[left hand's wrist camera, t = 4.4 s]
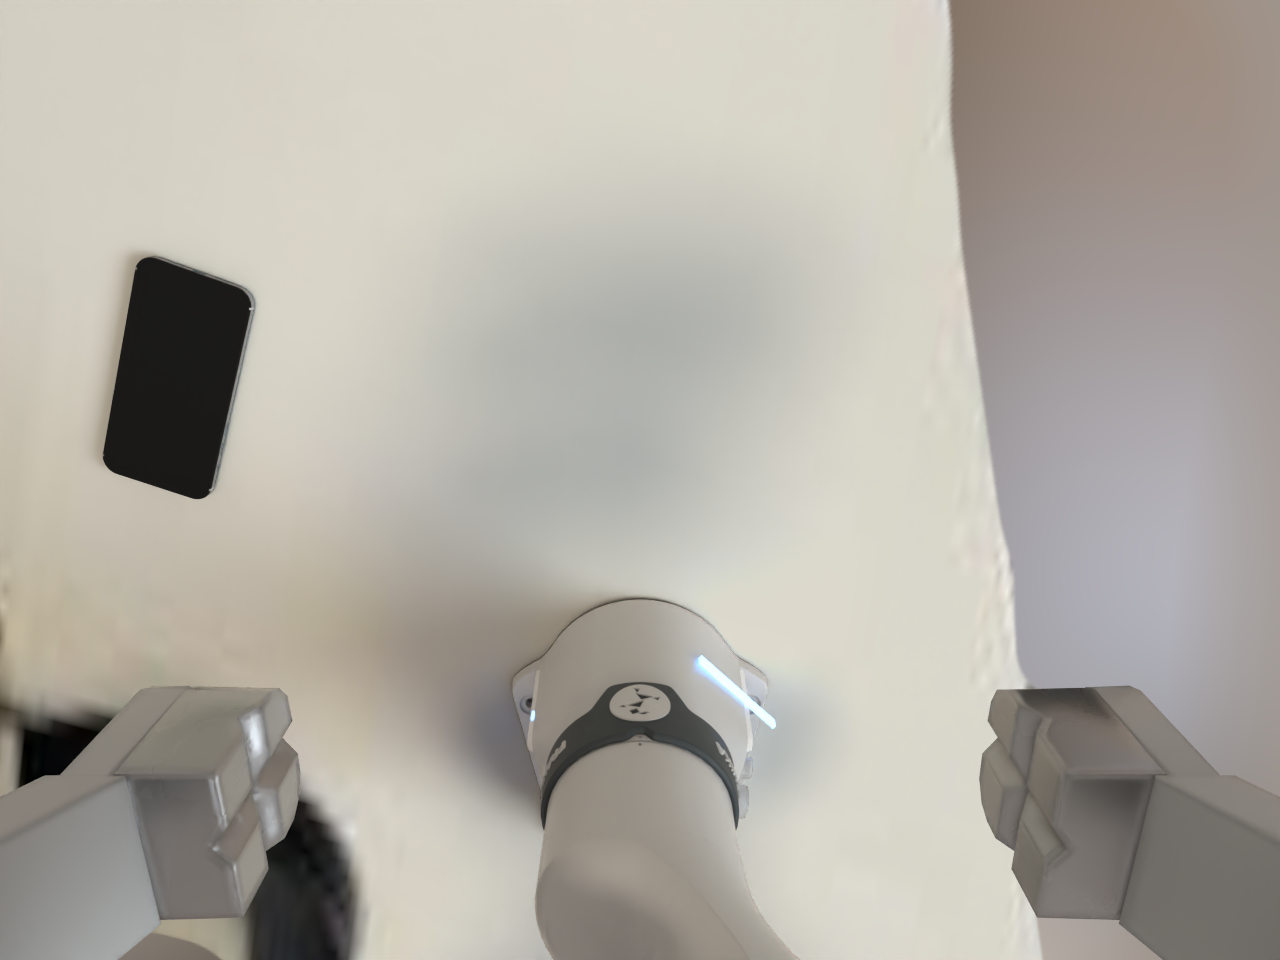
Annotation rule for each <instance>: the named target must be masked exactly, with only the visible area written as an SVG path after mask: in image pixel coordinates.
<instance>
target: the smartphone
mask: <svg viewBox="0 0 1280 960" xmlns="http://www.w3.org/2000/svg"><path fill="white" fill-rule="evenodd" d="M253 311H254V300H253V297H252V296H251V294H250V293H249V292H248V291H247V290H246V289H245V288H243V287H241V286H238V285H236V284H233V283H230V282H227V281H224V280H221V279H219V278H216V277H213V276H210V275H207V274H205V273H202V272H199V271H196V270H193V269H191V268H188V267H185V266H182V265H179V264H177V263H174V262H171V261H168V260H165V259H163V258H160V257H147V258H144V259H142V260H141V261H139V263H138V264H137V266H136V269H135V274H134V280H133V286H132V292H131V297H130V303H129V309H128V314H127V320H126V326H125V332H124V337H123V343H122V349H121V354H120V360H119V366H118V372H117V377H116V383H115V389H114V394H113V400H112V406H111V412H110V417H109V423H108V429H107V434H106V440H105V446H104V451H103V460H104V463H105V465H106V466H107V467H108V469H110V470H111V471H112V472H114V473H116V474H119V475H122V476H125V477H128V478H131V479H134V480H137V481H141V482H144V483H147V484H150V485H153V486H156V487H159V488H162V489H165V490H168V491H171V492H174V493H177V494H180V495H184V496H187V497H190V498H193V499H202V498H204V497H206V496H208V495H209V494H210V493H211V492H212V491H213V489H214V486H215V481H216V477H217V472H218V468H219V463H220V459H221V454H222V450H223V445H224V441H225V436H226V432H227V427H228V423H229V419H230V414H231V410H232V405H233V401H234V396H235V392H236V387H237V383H238V378H239V374H240V369H241V365H242V360H243V356H244V351H245V347H246V342H247V338H248V333H249V329H250V324H251V320H252V315H253Z"/></svg>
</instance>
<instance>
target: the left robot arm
mask: <svg viewBox="0 0 1280 960" xmlns="http://www.w3.org/2000/svg"><path fill="white" fill-rule="evenodd" d="M512 694H513V698H514V701H515V705H516V708H517V711H518V715H519V718H520V722H521V725H522V729H523V732H524V736H525V739H526V743H527V746H528V750H529V753H530V756H531V760H532V763H533V767H534V770H535V774H536V777H537V780H538V784H539V787H540V791H541V795H540V799H542V800H541V819H542V825H543V829H544V837H543V844H542V852H541V859H540V866H539V873H538V881H537V888H536V895H535V912H536V920H537V924H538V928H539V931H540V935H541V937H542V940H543V942H544V944H545V946H546V948H547V950H548V951H549V953H550V955H551V956H552V958H553V960H800V959H799V958H798V957H797V956H796V955H794V954H793V953H792V951H791V950H790V949H789V948H788V947H787V946H786V945H785V944H784V943H783V941H782V940H781V939H780V938H779V937H778V936H777V935H776V933H775V932H774V931H773V930H772V928H771V927H770V926H769V924H768V923H767V922H766V920H765V919H764V917H763V916H762V914H761V913H760V911H759V909H758V907H757V906H756V904H755V902H754V900H753V898H752V895H751V893H750V890H749V886H748V883H747V879H746V875H745V872H744V868H743V864H742V860H741V855H740V851H739V845H738V840H737V835H736V829H737V826H738V819H739V818H741V819H742V818H745V817H746V814H747V810H748V803H749V791H748V787H747V786H745V785H741V784H742V781H743V778H750V777H751V775H752V768H753V762H752V759H751V758H749V756H750V753H751V750H752V746H753V743H754V739H755V736H756V732H757V729H758V725H759V722H760V718H761V719H762V720H763V721H764V722H766V723H767V724H768V725H769V726H770V727H771V728H772V729H773V728H774V727H776V724H775V720H774V719H773V718H772V717H771V716H770V715H769V714H767V713H766V712H765V711H764V710H763V708H764V705H765V701H766V698H767V694H768V682H767V679H766V677H765V675H764V674H763V673H762V672H761V671H759V670H758V669H756V668H755V667H753V666H752V665H750V664H748V663H747V662H745V661H743V660H741V659H740V658H738V657H737V656H736V655H735V654H734V653H733V652H732V651H731V649H730V648H729V647H728V645H727V644H726V642H725V641H724V640H723V638H722V637H721V636H720V634H719V633H718V632H717V631H716V630H715V629H714V628H713V627H712V626H711V625H710V624H709V623H707V622H706V621H705V620H703V619H702V618H701V617H699V616H698V615H696V614H694V613H692V612H691V611H689V610H686V609H684V608H682V607H679V606H677V605H673V604H670V603H666V602H662V601H655V600H642V599H638V600H625V601H619V602H614V603H610V604H607V605H603V606H601V607H598V608H596V609H594V610H591V611H589V612H588V613H586V614H584V615H582V616H581V617H579V618H578V619H577V620H575V621H574V622H573V623H571V624H570V625H569V626H568V627H567V628H566V629H565V630H564V631H563V632H562V633H561V634H560V636H559V637H558V638H557V640H556V641H555V642H554V644H553V645H552V647H551V648H550V649H549V651H548V652H547V653H546V654H545V655H544V656H543V657H542V658H541V659H539V660H537V661H535V662H533V663H532V664H530V665H528V666H527V667H525V668H524V669H522V670H521V671H520V672H518V673H517V674H516V675H515V677H514V679H513V682H512ZM529 698H533V699H532V702H529V701H528V700H527V699H529ZM752 699H753V700H752ZM291 722H292V717H291V712H290V707H289V702H288V697H287V695H286V694H285V693H284V692H283V691H282V690H281V689H280V688H237V687H193V688H192V687H189V686H163V687H149V688H145V689H141V690H140V691H139V692H138V693H137V694H136V695H135V696H134V697H133V698H132V699H131V700H130V701H129V702H128V703H127V704H126V705H125V707H124V708H123V709H122V710H121V711H120V712H119V713H118V714H117V715H116V716H115V717H114V718H113V719H112V720H111V721H110V722H109V724H108V725H107V726H106V727H105V728H104V729H103V730H102V731H101V732H100V733H99V734H98V735H97V736H96V737H95V738H94V739H93V741H92V742H91V743H90V744H89V745H88V746H87V747H86V748H85V749H84V750H83V751H82V752H81V753H80V754H79V755H78V757H77V758H76V759H75V760H74V761H73V762H72V763H71V764H70V765H69V766H68V767H67V768H66V769H65V770H64V771H63V772H62V774H61V775H60V776H43V777H41V778H39V779H37V780H35V781H33V782H31V783H29V784H26V785H24V786H22V787H20V788H18V789H16V790H14V791H12V792H10V793H8V794H6V795H3V796H1V797H0V960H118V959H119V958H120V957H121V956H122V955H124V954H125V953H126V952H127V951H129V950H130V949H131V948H132V947H133V946H135V945H136V944H137V943H138V942H140V941H141V940H142V939H143V938H144V937H146V936H147V935H148V934H149V933H151V932H152V931H153V930H154V929H155V928H157V927H158V926H159V925H160V924H161V922H160V920H171V919H205V918H240V917H243V916H244V914H245V913H246V911H247V909H248V907H249V905H250V903H251V901H252V899H253V897H254V895H255V893H256V892H257V890H258V888H259V886H260V884H261V882H262V880H263V878H264V876H265V874H266V873H267V871H268V863H267V857H266V852H265V851H266V850H268V849H269V848H271V847H272V846H274V845H275V844H277V843H278V842H279V841H281V840H282V839H284V838H285V836H286V834H287V832H288V830H289V828H290V826H291V824H292V821H293V819H294V816H295V812H296V807H297V803H298V799H299V794H300V767H299V760H298V753H297V752H296V751H295V750H294V749H293V748H292V747H291V746H290V745H289V744H288V743H287V742H286V741H285V740H284V739H283V738H282V737H283V735H284V734H285V732H286V730H287V729H288V727H289V725H290V724H291ZM988 722H989V724H990V725H991V727H992V729H993V730H994V732H995V734H996V735H997V737H998V738H997V739H996V740H995V741H994V742H993V743H992V744H991V745H990V746H989V747H988V748H987V749H986V750H985V751H984V752H983V753H982V761H981V769H980V778H979V779H980V790H981V800H982V805H983V809H984V812H985V815H986V819H987V822H988V824H989V826H990V828H991V830H992V832H993V834H994V836H995V838H996V839H998V840H999V841H1001V842H1002V843H1003V844H1005V845H1006V846H1008V847H1009V848H1011V849H1012V850H1014V851H1015V852H1014V857H1013V863H1012V871H1013V873H1014V874H1015V876H1016V878H1017V880H1018V882H1019V884H1020V886H1021V888H1022V890H1023V891H1024V893H1025V895H1026V897H1027V899H1028V901H1029V903H1030V905H1031V907H1032V909H1033V910H1034V912H1035V914H1036V916H1037V917H1038V918H1073V919H1109V920H1120V921H1119V924H1120V925H1121V926H1123V927H1124V928H1125V929H1126V930H1127V931H1129V932H1130V933H1131V934H1132V935H1133V936H1135V937H1136V938H1137V939H1138V940H1140V941H1141V942H1142V943H1143V944H1145V945H1146V946H1147V947H1148V948H1149V949H1151V950H1152V951H1153V952H1154V953H1155V954H1157V955H1158V956H1159V957H1160V958H1161V959H1163V960H1280V797H1278V796H1276V795H1274V794H1272V793H1270V792H1268V791H1266V790H1264V789H1262V788H1260V787H1258V786H1256V785H1253V784H1251V783H1249V782H1247V781H1245V780H1243V779H1241V778H1239V777H1237V776H1220V775H1219V773H1218V772H1217V771H1216V770H1215V769H1214V768H1213V767H1212V766H1211V765H1210V764H1209V763H1208V762H1207V761H1206V760H1205V759H1204V758H1203V756H1202V755H1201V754H1200V753H1199V752H1198V751H1197V750H1196V749H1195V748H1194V747H1193V746H1192V745H1191V744H1190V743H1189V742H1188V740H1187V739H1186V738H1185V737H1184V736H1183V735H1182V734H1181V733H1180V732H1179V731H1178V730H1177V729H1176V728H1175V727H1174V726H1173V724H1172V723H1171V722H1170V721H1169V720H1168V719H1167V718H1166V717H1165V716H1164V715H1163V714H1162V713H1161V712H1160V711H1159V710H1158V709H1157V707H1156V706H1155V705H1154V704H1153V703H1152V702H1151V701H1150V700H1149V699H1148V698H1147V697H1146V696H1145V695H1144V694H1143V693H1142V691H1140V690H1138V689H1136V688H1133V687H1131V686H1109V687H1085V688H1059V689H1009V690H997V691H996V693H995V695H994V697H993V699H992V701H991V705H990V711H989V716H988Z"/></svg>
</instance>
